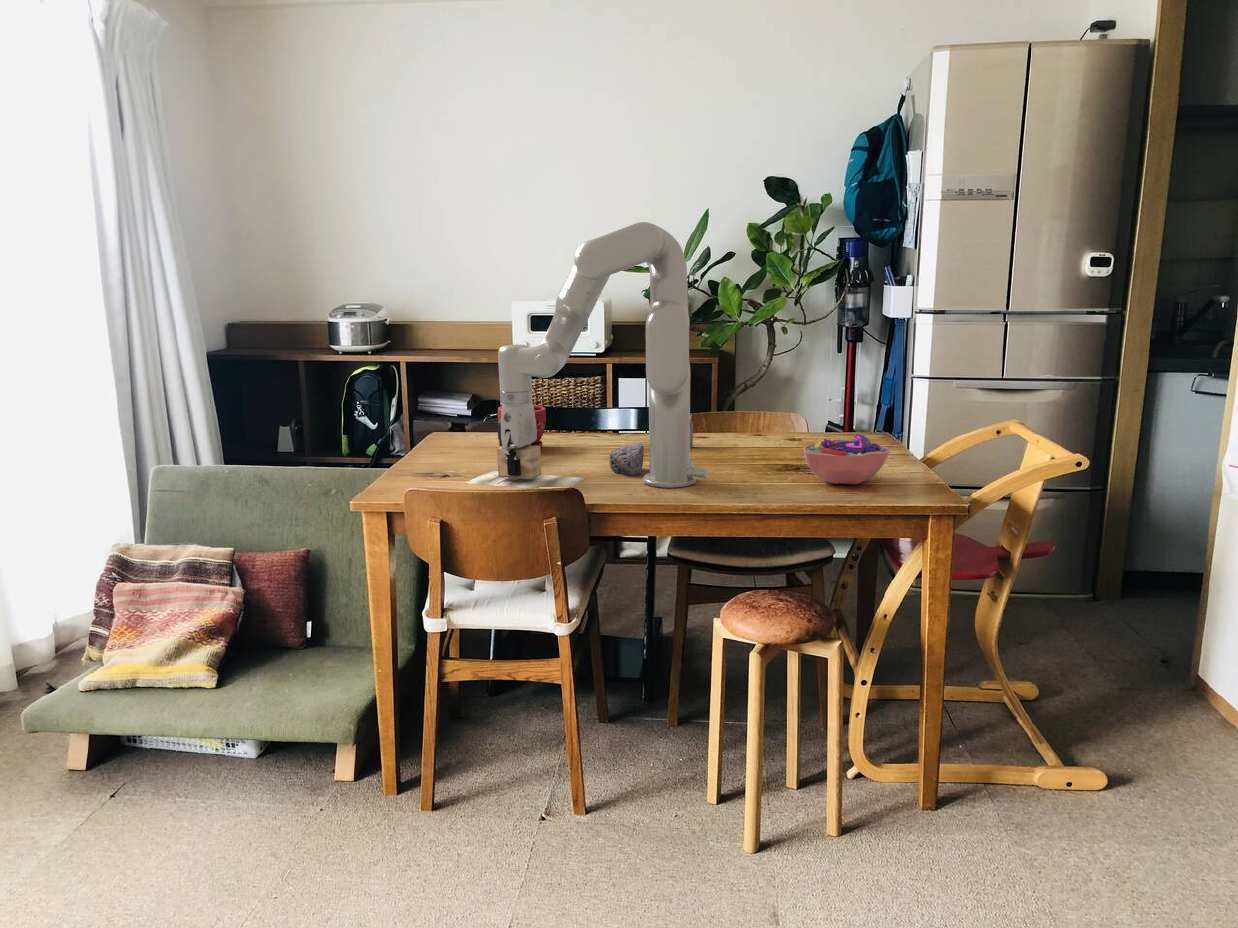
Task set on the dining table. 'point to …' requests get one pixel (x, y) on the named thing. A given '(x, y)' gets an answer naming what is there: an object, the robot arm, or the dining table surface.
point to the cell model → (846, 459)
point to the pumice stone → (627, 459)
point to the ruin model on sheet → (691, 432)
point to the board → (525, 481)
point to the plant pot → (539, 416)
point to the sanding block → (522, 462)
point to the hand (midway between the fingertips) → (519, 471)
